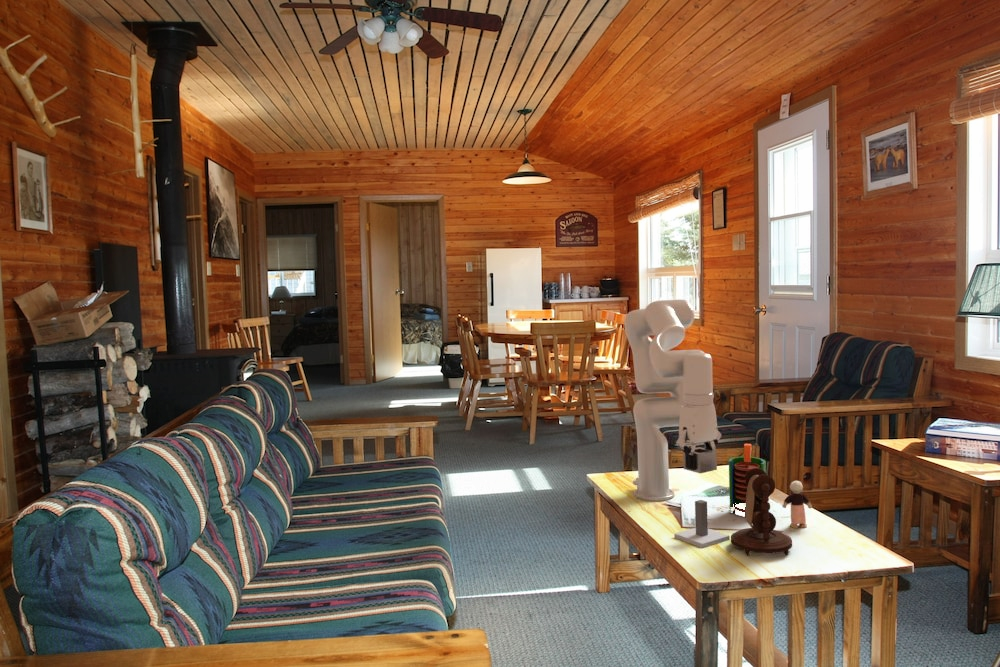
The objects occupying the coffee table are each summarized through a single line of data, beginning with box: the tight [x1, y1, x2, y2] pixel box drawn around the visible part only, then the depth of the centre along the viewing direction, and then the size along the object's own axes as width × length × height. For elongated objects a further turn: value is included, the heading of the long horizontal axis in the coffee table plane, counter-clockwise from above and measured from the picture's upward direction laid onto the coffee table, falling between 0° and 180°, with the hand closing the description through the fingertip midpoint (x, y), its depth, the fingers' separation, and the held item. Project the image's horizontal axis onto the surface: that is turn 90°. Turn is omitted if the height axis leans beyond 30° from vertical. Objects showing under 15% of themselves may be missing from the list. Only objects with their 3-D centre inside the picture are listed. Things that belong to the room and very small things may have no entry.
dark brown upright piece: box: [730, 468, 793, 557], centre depth 190 cm, size 15×15×20 cm
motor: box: [728, 443, 767, 512], centre depth 218 cm, size 10×9×20 cm
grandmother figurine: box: [781, 480, 813, 529], centre depth 205 cm, size 8×4×13 cm, turn 97°
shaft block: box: [674, 499, 731, 548], centre depth 199 cm, size 10×10×10 cm
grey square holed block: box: [682, 446, 718, 474], centre depth 198 cm, size 6×6×5 cm
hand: (699, 466), depth 198 cm, fingers closed on grey square holed block, 6 cm apart
